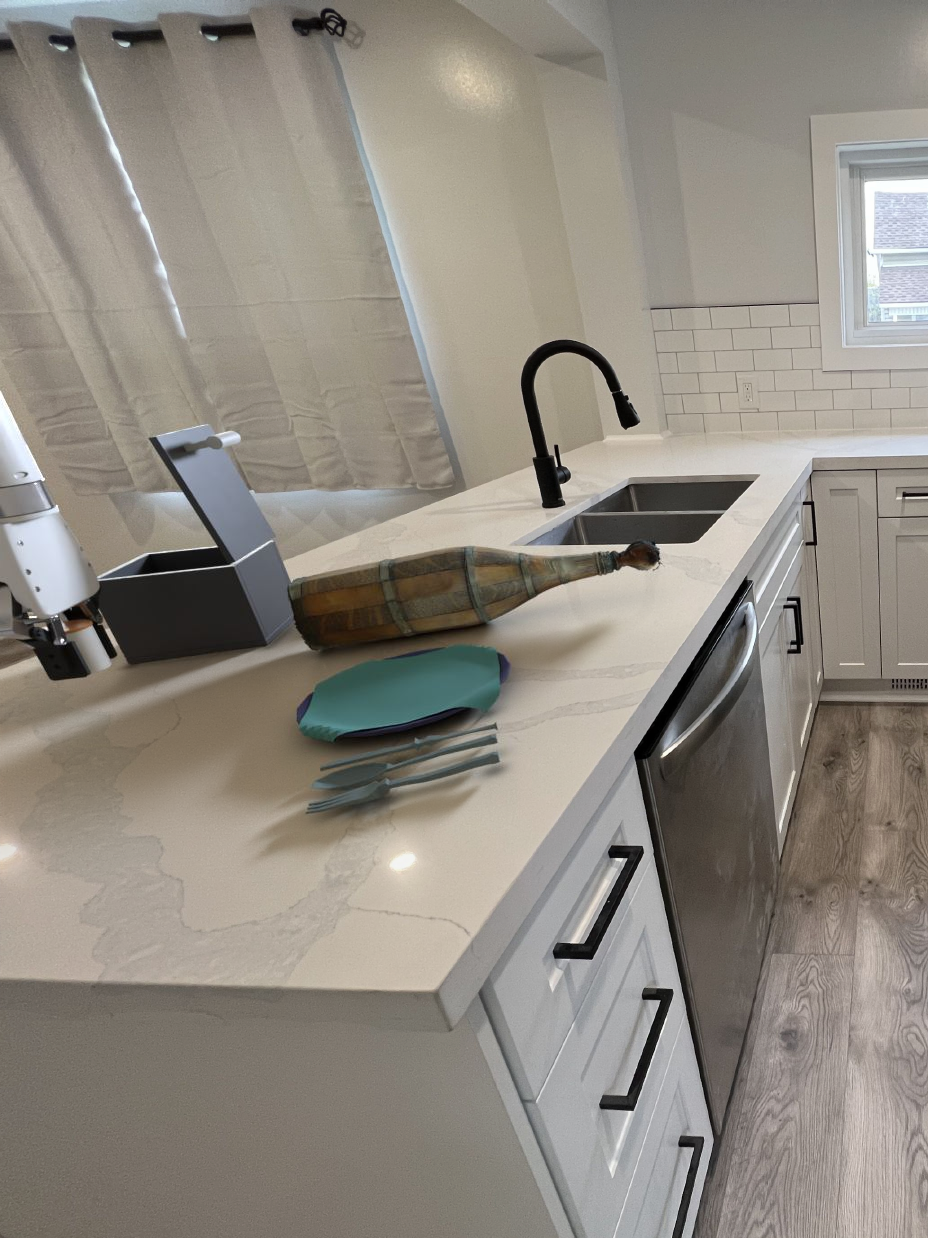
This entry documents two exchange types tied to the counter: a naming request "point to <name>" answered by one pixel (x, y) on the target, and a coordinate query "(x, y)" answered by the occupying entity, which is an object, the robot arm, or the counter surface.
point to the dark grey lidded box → (195, 602)
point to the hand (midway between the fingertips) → (85, 666)
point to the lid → (215, 488)
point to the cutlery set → (401, 714)
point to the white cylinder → (87, 643)
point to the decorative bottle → (438, 590)
